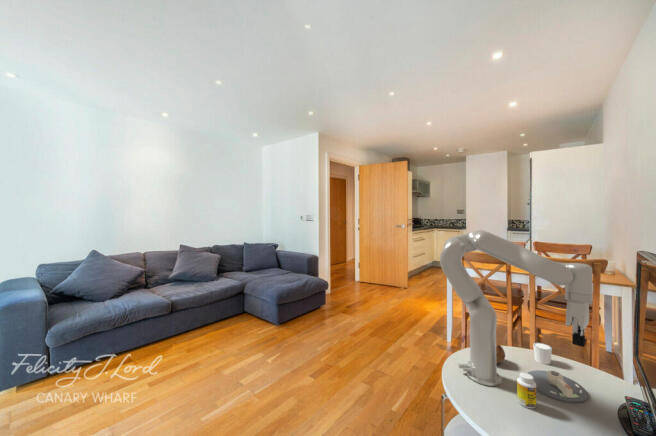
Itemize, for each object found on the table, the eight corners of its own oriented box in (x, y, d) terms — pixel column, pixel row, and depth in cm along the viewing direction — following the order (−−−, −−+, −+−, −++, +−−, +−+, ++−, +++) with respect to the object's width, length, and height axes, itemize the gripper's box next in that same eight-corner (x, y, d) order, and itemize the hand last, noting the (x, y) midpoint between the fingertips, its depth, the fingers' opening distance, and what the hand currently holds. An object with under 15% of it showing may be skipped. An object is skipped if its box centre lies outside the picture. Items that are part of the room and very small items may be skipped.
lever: (544, 378, 106) (544, 368, 106) (558, 380, 105) (558, 369, 105) (561, 397, 95) (561, 386, 95) (577, 399, 94) (577, 387, 94)
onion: (502, 371, 119) (512, 356, 115) (480, 364, 121) (489, 349, 117) (496, 354, 127) (505, 339, 123) (475, 347, 129) (484, 333, 125)
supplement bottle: (528, 410, 91) (527, 381, 91) (513, 400, 97) (512, 372, 97) (540, 407, 92) (540, 379, 92) (525, 397, 98) (525, 370, 98)
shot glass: (556, 365, 117) (555, 350, 117) (538, 364, 119) (538, 349, 119) (546, 357, 124) (546, 343, 124) (530, 356, 125) (529, 342, 125)
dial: (540, 398, 97) (540, 394, 97) (518, 370, 114) (518, 367, 114) (600, 406, 92) (600, 402, 92) (568, 376, 110) (567, 372, 110)
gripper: (570, 290, 106) (570, 335, 106) (559, 297, 97) (559, 347, 97) (596, 295, 100) (597, 343, 100) (587, 303, 91) (587, 355, 91)
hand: (578, 344), depth 99 cm, fingers closed
